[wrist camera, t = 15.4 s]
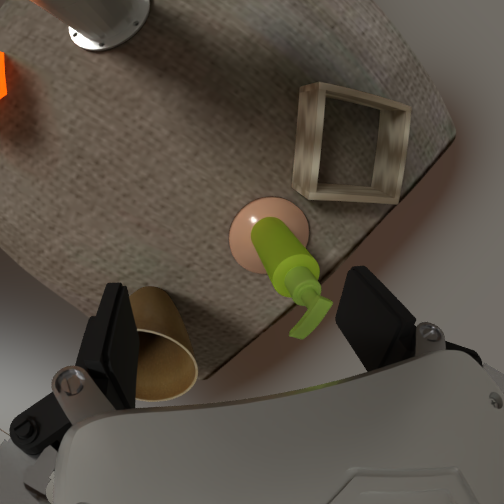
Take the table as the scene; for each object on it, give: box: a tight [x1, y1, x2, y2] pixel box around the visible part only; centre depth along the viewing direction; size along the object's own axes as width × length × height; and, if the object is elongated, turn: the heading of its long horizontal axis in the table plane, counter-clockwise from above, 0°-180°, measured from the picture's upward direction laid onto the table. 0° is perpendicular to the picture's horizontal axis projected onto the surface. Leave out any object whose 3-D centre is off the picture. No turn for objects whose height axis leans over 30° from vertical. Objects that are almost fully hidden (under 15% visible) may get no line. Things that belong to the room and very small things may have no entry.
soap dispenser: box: [251, 217, 333, 339], centre depth 36 cm, size 6×7×20 cm
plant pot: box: [129, 286, 198, 402], centre depth 40 cm, size 15×15×16 cm
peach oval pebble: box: [229, 196, 309, 274], centre depth 45 cm, size 13×13×1 cm
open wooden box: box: [291, 82, 411, 205], centre depth 38 cm, size 16×16×7 cm
